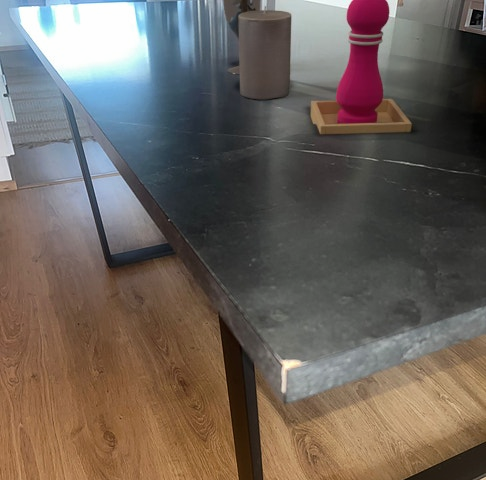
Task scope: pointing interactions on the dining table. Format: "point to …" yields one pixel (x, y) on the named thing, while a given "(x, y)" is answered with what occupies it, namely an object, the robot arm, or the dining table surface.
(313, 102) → the tray
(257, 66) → the pillar candle
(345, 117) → the pepper mill
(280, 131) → the dining table surface
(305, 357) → the dining table surface
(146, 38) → the dining table surface
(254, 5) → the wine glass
